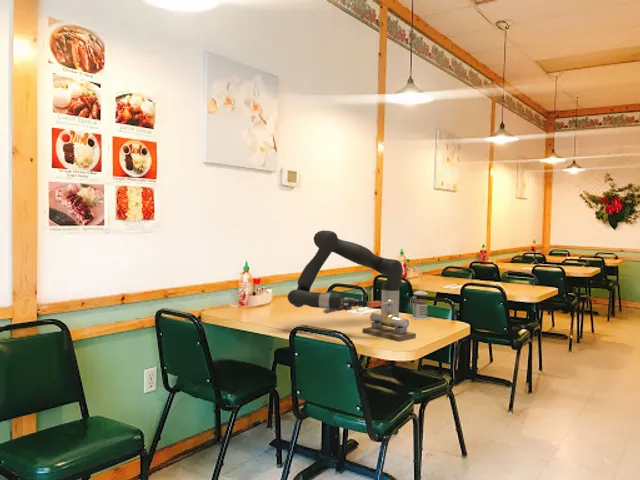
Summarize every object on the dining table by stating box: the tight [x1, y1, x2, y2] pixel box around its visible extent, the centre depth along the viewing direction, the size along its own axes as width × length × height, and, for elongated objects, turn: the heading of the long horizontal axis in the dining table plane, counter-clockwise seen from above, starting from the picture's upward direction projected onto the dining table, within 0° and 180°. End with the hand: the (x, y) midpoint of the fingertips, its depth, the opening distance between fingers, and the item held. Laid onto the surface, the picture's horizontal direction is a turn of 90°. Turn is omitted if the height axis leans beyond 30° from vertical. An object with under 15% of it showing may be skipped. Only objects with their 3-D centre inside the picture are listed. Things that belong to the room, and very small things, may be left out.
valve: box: [322, 305, 353, 313], centre depth 305 cm, size 6×26×15 cm
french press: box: [409, 272, 429, 321], centre depth 284 cm, size 10×12×25 cm
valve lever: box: [366, 299, 393, 308], centre depth 234 cm, size 3×16×2 cm, turn 132°
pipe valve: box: [369, 305, 410, 335], centre depth 239 cm, size 20×6×12 cm, turn 42°
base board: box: [361, 326, 417, 342], centre depth 239 cm, size 22×12×2 cm, turn 42°
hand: (367, 303), depth 232 cm, fingers closed
